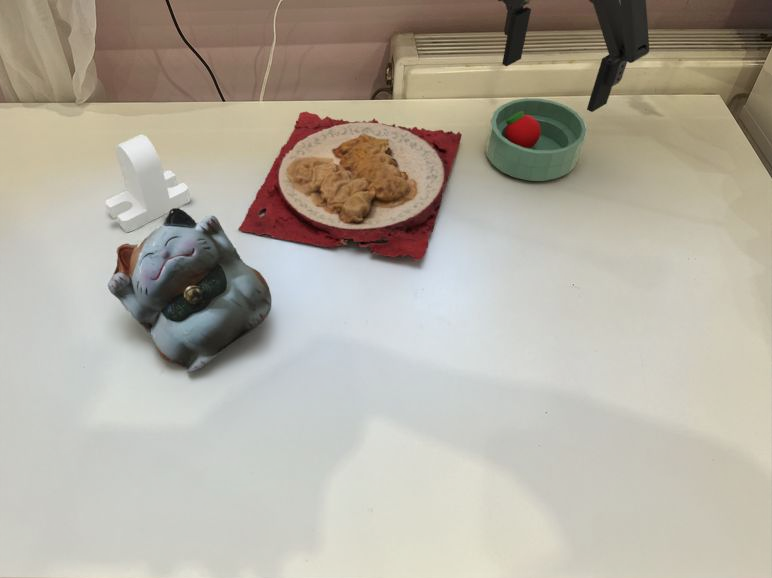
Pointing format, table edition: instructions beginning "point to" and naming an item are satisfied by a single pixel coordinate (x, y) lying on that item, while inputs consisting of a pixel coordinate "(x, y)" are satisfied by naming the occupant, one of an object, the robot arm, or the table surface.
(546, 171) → the bowl
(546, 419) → the table surface
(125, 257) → the lucky cat figurine
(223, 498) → the table surface
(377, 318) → the table surface
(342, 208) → the plate with food
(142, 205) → the cable organizer
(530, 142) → the tomato
